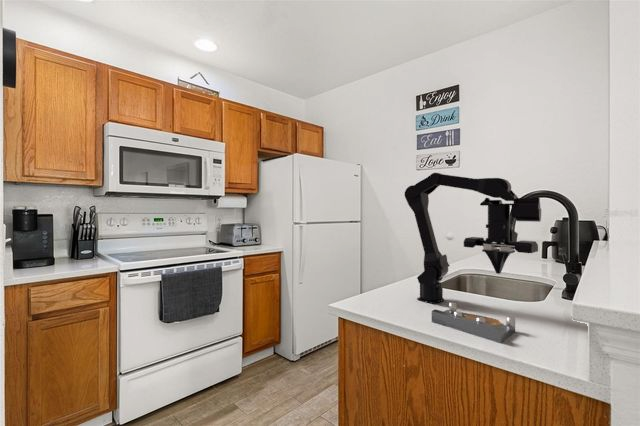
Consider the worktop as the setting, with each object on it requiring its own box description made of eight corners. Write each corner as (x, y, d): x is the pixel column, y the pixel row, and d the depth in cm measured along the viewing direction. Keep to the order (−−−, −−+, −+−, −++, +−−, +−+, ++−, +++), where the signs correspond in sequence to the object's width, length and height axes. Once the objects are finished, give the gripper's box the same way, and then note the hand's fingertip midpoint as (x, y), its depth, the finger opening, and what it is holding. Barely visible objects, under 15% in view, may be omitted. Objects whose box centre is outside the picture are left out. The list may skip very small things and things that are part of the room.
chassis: (431, 321, 90) (431, 309, 89) (450, 313, 96) (450, 301, 96) (500, 343, 76) (500, 328, 75) (517, 331, 82) (517, 318, 82)
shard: (459, 316, 94) (459, 310, 94) (485, 316, 95) (485, 310, 95) (479, 331, 84) (479, 324, 83) (508, 330, 84) (508, 324, 84)
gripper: (544, 220, 93) (544, 274, 93) (479, 218, 107) (479, 265, 108) (530, 222, 86) (530, 280, 86) (462, 220, 100) (462, 270, 101)
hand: (498, 273), depth 96 cm, fingers closed
